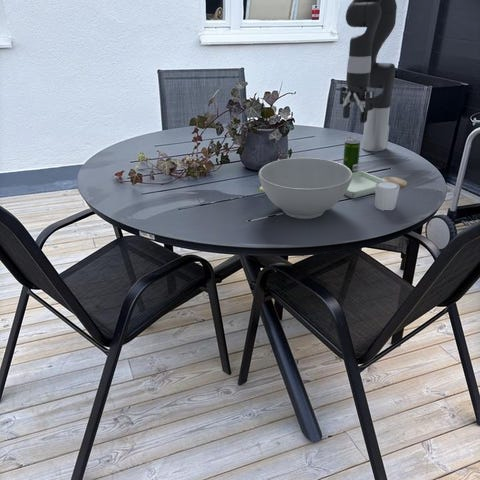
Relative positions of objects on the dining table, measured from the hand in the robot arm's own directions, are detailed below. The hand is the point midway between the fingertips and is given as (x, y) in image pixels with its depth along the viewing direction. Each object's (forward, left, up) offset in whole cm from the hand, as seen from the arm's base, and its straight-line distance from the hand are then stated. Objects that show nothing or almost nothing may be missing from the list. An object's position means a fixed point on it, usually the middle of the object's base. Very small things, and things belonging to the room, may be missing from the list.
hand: (354, 120), depth 158 cm
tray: (+8, +13, -18) cm, 24 cm away
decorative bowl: (+34, +19, -19) cm, 43 cm away
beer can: (0, 0, -19) cm, 19 cm away
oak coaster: (-4, +17, -18) cm, 25 cm away
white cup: (+12, +30, -19) cm, 37 cm away
